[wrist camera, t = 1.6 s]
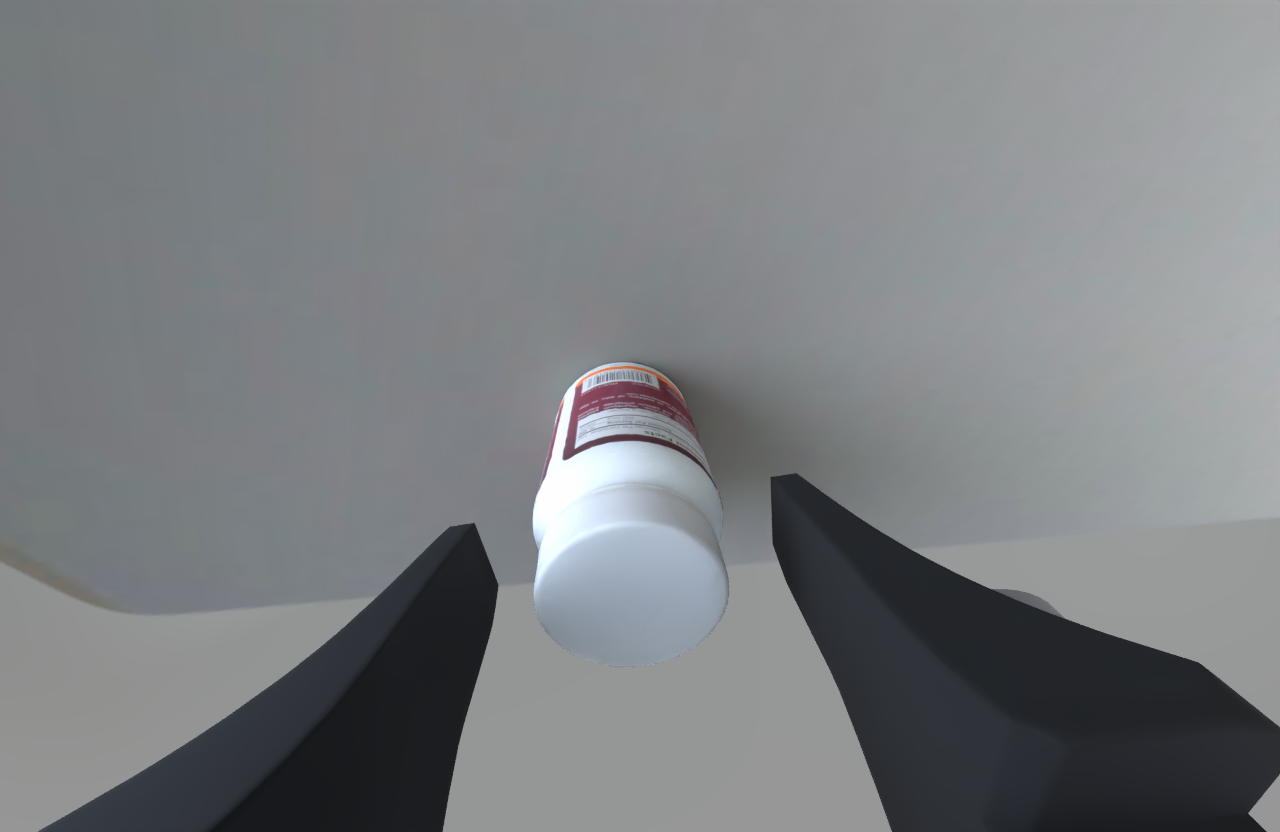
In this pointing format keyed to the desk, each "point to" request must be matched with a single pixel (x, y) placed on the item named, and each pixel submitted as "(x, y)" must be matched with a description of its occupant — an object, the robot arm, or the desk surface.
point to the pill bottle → (627, 523)
